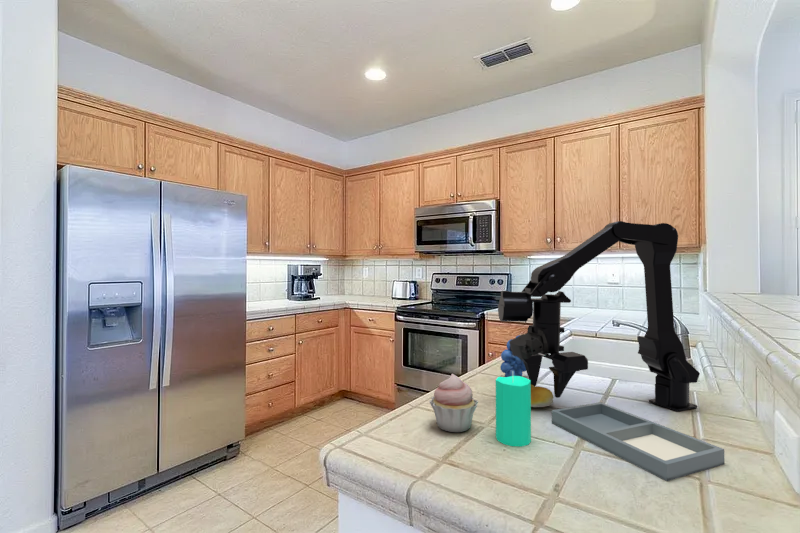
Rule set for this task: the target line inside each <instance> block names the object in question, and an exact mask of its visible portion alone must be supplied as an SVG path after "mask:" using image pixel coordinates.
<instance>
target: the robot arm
mask: <svg viewBox="0 0 800 533" xmlns="http://www.w3.org/2000/svg"><path fill="white" fill-rule="evenodd" d="M678 241H679V233H678V230H677V228H675V227H674V226H673V225H671V224H669V223H666V222H665V223H664V222H662V223H655V224H648V223H647V224H646V223H635V222H634V223H633V222H627V221H622V220H618V221H614V222H610V223H607V224H606V225H605V226H604V227H603V228H602V229H600V230H599V231H598V232H596V233H595V234H592V236H590V237H589V238H588V239H586V240H585V241H584V242H581V243H580V244H579V245H577V246H576V247H575V248H573V249H571V250H570V251H569V252H567V253H565V254H564V255H563V256H561V257H558V258H556V259H553V260H551V261H548V262H546V263H544V264H542V265H540V266H539V265H538V266H537V267H536V268H534V270H532V272H531V273H530V274H531V275H530V280H529V281H528V283H527V284H526V285H525V287H524V288H523V289H522V291H510V290H509V291H508V290H501V291H500V297H499V302H498V304H497V313H498V319H499V321H500V322H518V323H519V322H522V323H526V322H528V320H529V319H531V318H532V325H531V324H530V325H528V327H527V330H526V333H523V334H519V335H520V336H518V335H517V336H518V337H517V336H515V338H513V339H512V340H511V339H510V340H511V341H509V340H508V341H509V343H510V351H512V354H513V355H514V356H517V357H519V358H520V359H521V360H522V361H523V363H524V365H525V368H526V371H525V372H526V374H527V377H528V379H529V380H531V384H532V385H534V386H535V387H536V386H537V383H538V380H539V374H540V370H541V365H542V360H543V358H544V359H545V358H546V359H547V360H548V359H549V360H551V363H552V365H553V366H550V367H548V369H549V370H550V371H551V373H552V375H553V393H554V394H553V395H554V397H555V398H556V399H557V398H560V397H561V396H562V394H563V393H564V392H565V389H566V387H567V385H568V384H569V383H570V380H571V379H572V377H573V376H574V375H575V373H576V372H580V371H584V370H585V371H586V370H589V359H588V358H587V356H586V355H584V354H581V353H578V352H574V351H565V346H564V345H561V342H560V341H561V333H565V327H563V326H561V310H562V309H561V307H562V306H561V304H562V303H564V304H565V303H566V304H567V303H568V304H570V303H572V300H571V299H570V298H569V297H568V296H567V295H566V294H565V292H564V291H561V289H563V287H565V286H566V284H568V282H569V281H570V280H571V279H572V278H573V276H574V275H575V273H576V272H577V271H578V270H579V269H581V268H582V267H583V266H585V265H586V264H588V263H589V262H591V261H592V260H594V259H595V258H597V257H598V256H599V255H601V254H602V253H604V252H606V251H607V250H608V249H609V248H611V247H613V246H614V245H616V244H617V243H623V244H626V245H631V246H634V248H635V252H636V254H637V257H638V259H639V260H640V262H641V263H642V265H643V270H644V271H643V272H644V285H645V288H644V290H645V301H646V302H645V303H646V316H647V317H646V318H647V330H646V332H645V334H644V336H643V335H642V336H641V335H638V336H637V343H638V351H637V354H639V355H640V356H641V359H642V362H644V363H645V364H646V365H647V367H648V370H649V372H650V373H653V374H656V376H655V383H654V398H650V399H648V402H649V403H651V404H654V405H657V406H659V407H660V406H661V407H663V408H667V409H669V410H672V411H674V412H675V411H676V412H681V411H687V410H692V409H697V408H698V405H697V404H696V403H695V404H694V403H691V402H690V384H691V383H693V384H694V383H695V384H696V383H697V382H698V380H699V377H700V372H699V371H698V370H697V368H695V367H694V366H693V365H692V364H691V363H690V362H689V361H688V360H687V356H686V353H685V348H684V344H683V342H682V340H681V339H680V337H679V336H678V334H677V332H676V330H675V319H674V306H673V305H674V304H673V303H674V302H673V290H672V289H673V288H672V274H671V263H672V261H673V260H674V258H675V255H676V253H677V251H678V243H679V242H678ZM548 293H550V294H548ZM551 293H555V294H551ZM533 297H534V298H533ZM535 297H536V298H535Z"/></svg>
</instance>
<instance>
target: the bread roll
mask: <svg viewBox="0 0 800 533" xmlns="http://www.w3.org/2000/svg"><path fill="white" fill-rule="evenodd" d="M554 397H555V396H554V394H553V392H552V391H551V389H549V388H546V387H543V386H538V385H536V386H534V385H532V384H531V408H546V407H549V406H551V405H552V404H553V403H554Z"/></svg>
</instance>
